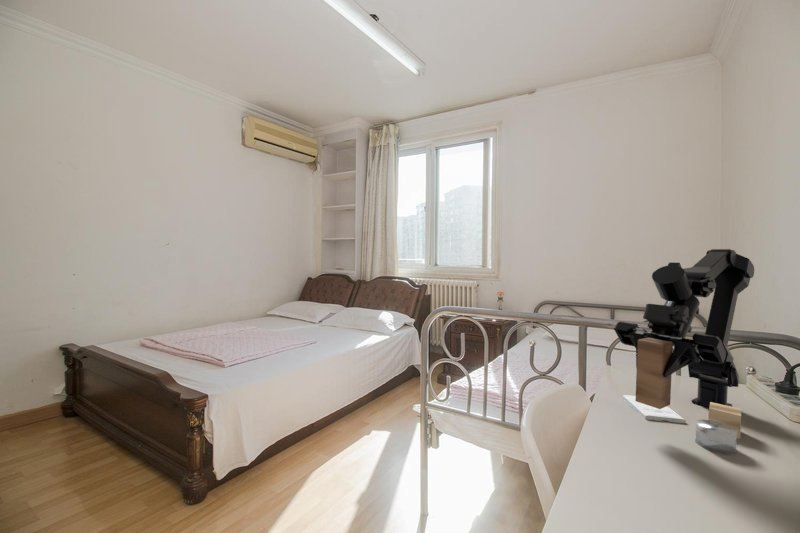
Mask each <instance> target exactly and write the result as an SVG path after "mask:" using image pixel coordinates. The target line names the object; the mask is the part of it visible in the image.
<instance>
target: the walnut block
mask: <svg viewBox="0 0 800 533" xmlns="http://www.w3.org/2000/svg"><path fill="white" fill-rule="evenodd" d="M673 350H674V347H673V342H670V341H664V340H659V339H653V338H644V339H639V340H638V347H637V368H636V372H635V373H636V374H635V375H636V376H635V377H636V379H635V396H636V400H635V401H637V402H640V403H643V404H646V405H649V406H652V407H655V408H658V409H662V408H664V407H666V406H668V407H669V406H670V405H671V398H672V397H671V395H672V374H671V375H670V376H668V377H664V376H663V372H664V369H665V366H666V364H667V362H668V361H669V359H670V357H671V355H672V353H673Z"/></svg>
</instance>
